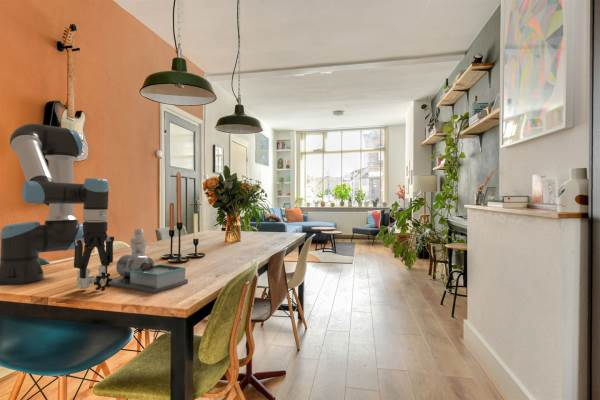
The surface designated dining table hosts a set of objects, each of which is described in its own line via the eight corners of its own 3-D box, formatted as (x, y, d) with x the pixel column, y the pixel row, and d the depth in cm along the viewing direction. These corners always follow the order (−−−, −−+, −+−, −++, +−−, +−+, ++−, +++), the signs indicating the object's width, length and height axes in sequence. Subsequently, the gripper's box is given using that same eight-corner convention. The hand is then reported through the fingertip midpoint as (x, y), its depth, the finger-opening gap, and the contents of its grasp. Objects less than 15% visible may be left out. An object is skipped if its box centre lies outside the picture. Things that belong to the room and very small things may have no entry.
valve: (70, 289, 115) (95, 293, 111) (71, 270, 115) (95, 274, 111) (87, 284, 121) (111, 288, 117) (88, 267, 121) (112, 270, 117)
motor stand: (105, 284, 126) (106, 257, 126) (142, 275, 141) (143, 251, 141) (153, 293, 115) (154, 264, 115) (187, 282, 131) (188, 257, 131)
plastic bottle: (145, 274, 144) (146, 229, 144) (128, 275, 142) (129, 229, 142) (146, 271, 150) (147, 228, 150) (130, 271, 148) (131, 228, 148)
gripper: (75, 223, 106) (73, 293, 106) (125, 220, 123) (123, 280, 123) (61, 221, 109) (59, 289, 109) (112, 219, 126) (110, 278, 126)
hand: (93, 284), depth 116 cm, fingers closed on valve, 5 cm apart
